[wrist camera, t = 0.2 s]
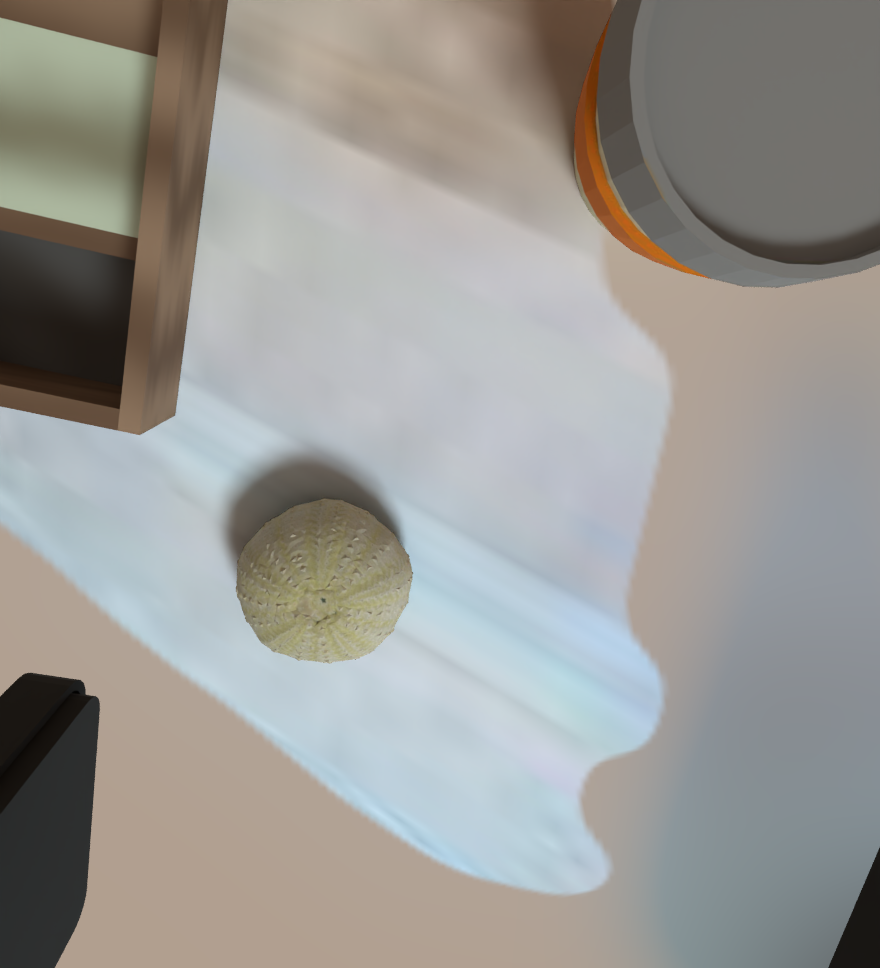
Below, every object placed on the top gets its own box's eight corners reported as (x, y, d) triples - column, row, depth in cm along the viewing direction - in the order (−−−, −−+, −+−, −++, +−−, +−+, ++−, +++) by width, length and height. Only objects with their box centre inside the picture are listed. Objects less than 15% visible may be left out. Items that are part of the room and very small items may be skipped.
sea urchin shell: (198, 529, 38) (283, 542, 32) (316, 477, 43) (406, 480, 37) (251, 679, 40) (338, 716, 35) (356, 613, 45) (446, 635, 40)
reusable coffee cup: (560, -16, 33) (671, -245, 19) (822, 27, 34) (1123, -162, 19) (517, 268, 36) (583, 260, 22) (756, 300, 37) (971, 313, 23)
